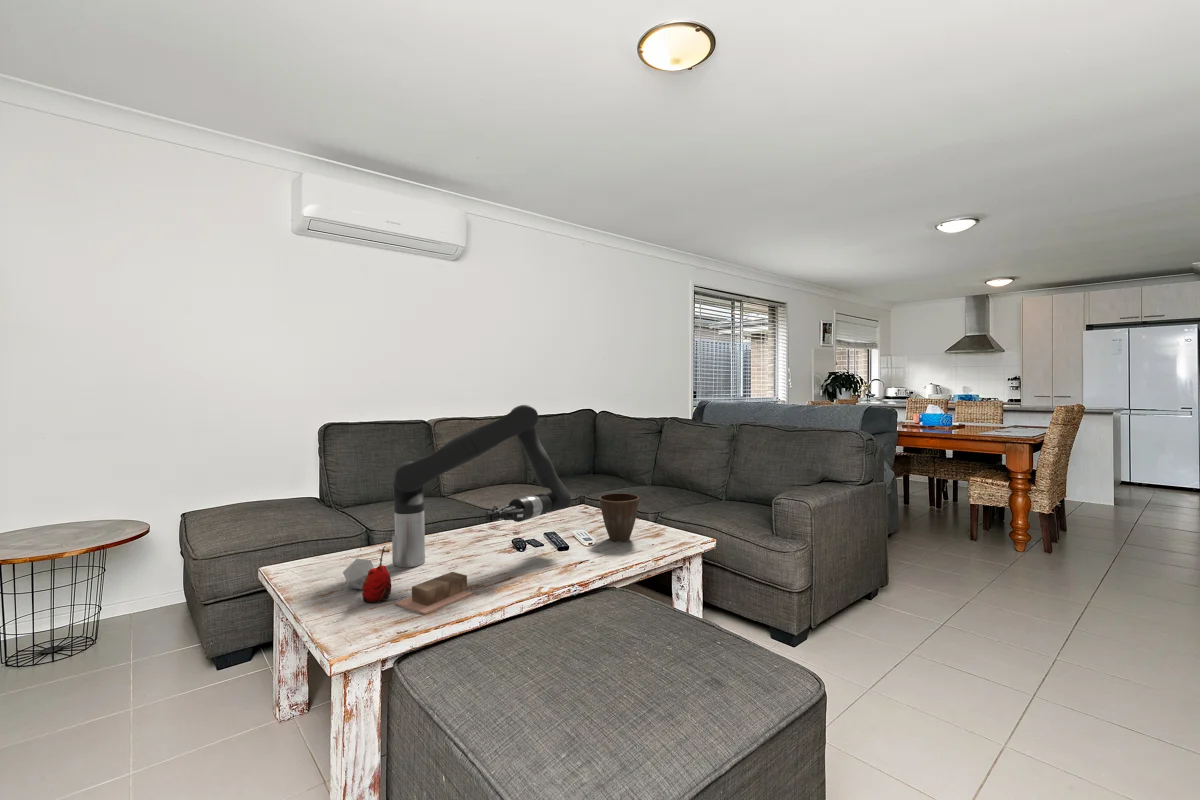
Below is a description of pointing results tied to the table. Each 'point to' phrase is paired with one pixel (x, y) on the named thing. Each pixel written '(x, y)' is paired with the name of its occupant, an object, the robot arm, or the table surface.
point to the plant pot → (619, 514)
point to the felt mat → (435, 606)
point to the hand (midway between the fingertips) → (488, 517)
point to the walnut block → (439, 588)
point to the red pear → (377, 583)
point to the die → (357, 573)
